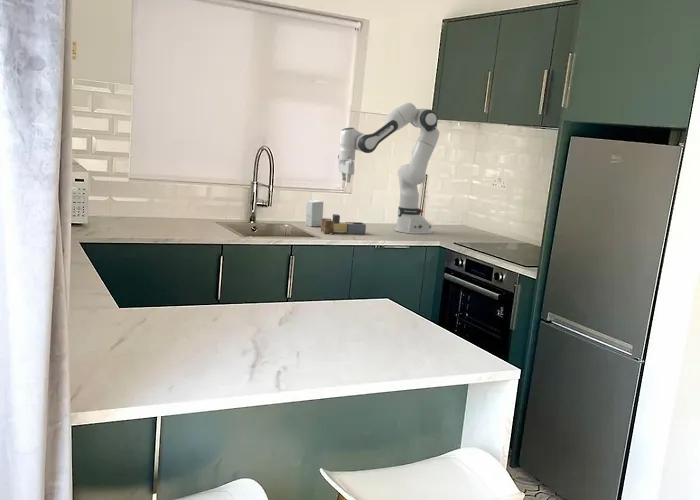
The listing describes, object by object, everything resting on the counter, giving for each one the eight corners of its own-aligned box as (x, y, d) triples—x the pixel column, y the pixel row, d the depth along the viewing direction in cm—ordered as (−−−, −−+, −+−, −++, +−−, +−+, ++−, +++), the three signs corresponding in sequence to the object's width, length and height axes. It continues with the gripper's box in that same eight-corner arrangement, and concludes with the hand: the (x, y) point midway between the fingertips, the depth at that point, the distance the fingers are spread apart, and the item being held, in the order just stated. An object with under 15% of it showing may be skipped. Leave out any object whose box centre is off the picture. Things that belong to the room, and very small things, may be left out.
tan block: (351, 230, 400) (352, 214, 398) (353, 232, 396) (354, 216, 394) (327, 230, 396) (328, 214, 395) (329, 231, 392) (330, 215, 391)
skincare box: (316, 224, 419) (318, 199, 417) (322, 226, 415) (324, 201, 412) (304, 225, 414) (306, 200, 411) (311, 227, 410) (312, 201, 407)
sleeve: (361, 232, 404) (362, 222, 403) (365, 234, 396) (366, 224, 395) (344, 231, 401) (345, 221, 400) (348, 234, 393) (348, 224, 392)
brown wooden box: (329, 231, 399) (330, 218, 398) (333, 234, 391) (334, 221, 389) (320, 230, 398) (321, 218, 397) (324, 233, 389) (325, 220, 388)
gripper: (357, 158, 389) (356, 183, 392) (347, 155, 408) (346, 179, 411) (346, 158, 387) (345, 183, 390) (337, 155, 407) (336, 179, 409)
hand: (346, 181), depth 401 cm, fingers open, 8 cm apart
